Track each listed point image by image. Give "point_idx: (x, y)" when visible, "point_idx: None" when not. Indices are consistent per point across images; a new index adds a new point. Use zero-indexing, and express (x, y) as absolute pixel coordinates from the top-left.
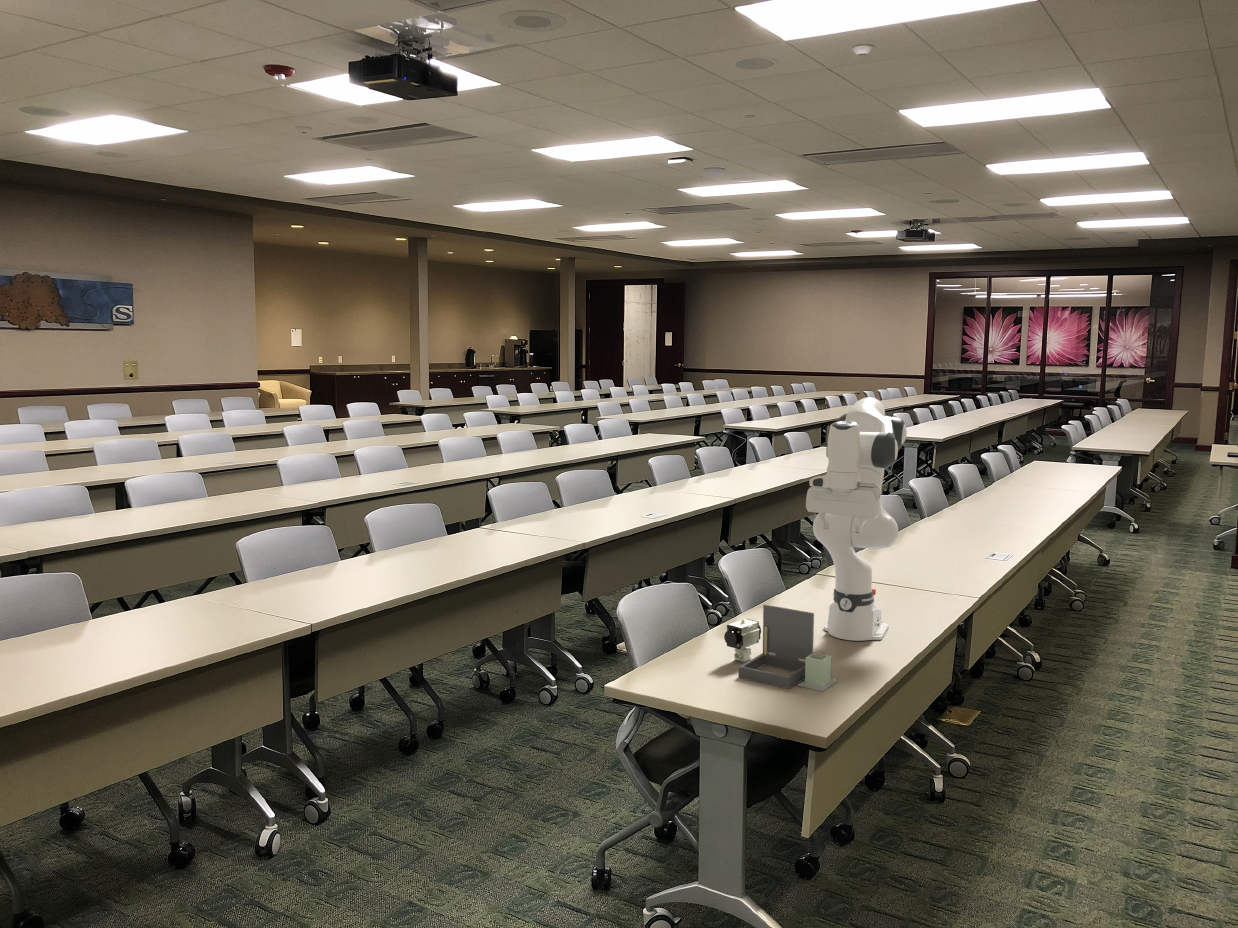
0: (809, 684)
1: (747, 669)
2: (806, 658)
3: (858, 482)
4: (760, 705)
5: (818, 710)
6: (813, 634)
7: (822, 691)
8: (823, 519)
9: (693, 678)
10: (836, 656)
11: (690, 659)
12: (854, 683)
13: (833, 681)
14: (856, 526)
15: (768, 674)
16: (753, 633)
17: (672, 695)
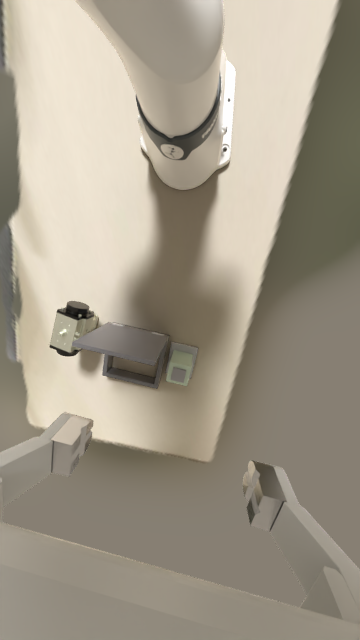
0: None
1: (112, 376)
2: (167, 380)
3: None
4: (148, 423)
5: (195, 419)
6: (161, 349)
7: (190, 378)
8: (21, 481)
9: (73, 385)
10: (182, 265)
11: (46, 339)
12: (216, 346)
13: (195, 353)
14: (259, 512)
15: (135, 382)
16: (84, 329)
17: None
